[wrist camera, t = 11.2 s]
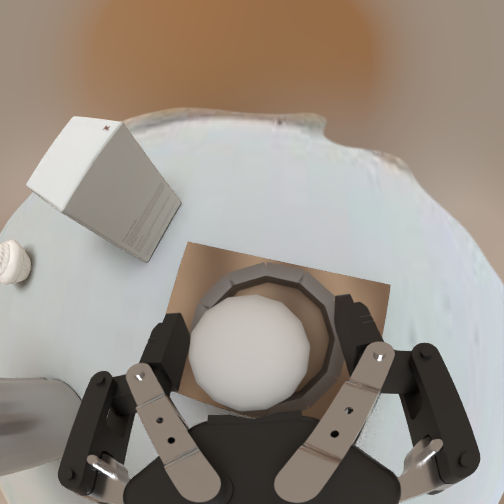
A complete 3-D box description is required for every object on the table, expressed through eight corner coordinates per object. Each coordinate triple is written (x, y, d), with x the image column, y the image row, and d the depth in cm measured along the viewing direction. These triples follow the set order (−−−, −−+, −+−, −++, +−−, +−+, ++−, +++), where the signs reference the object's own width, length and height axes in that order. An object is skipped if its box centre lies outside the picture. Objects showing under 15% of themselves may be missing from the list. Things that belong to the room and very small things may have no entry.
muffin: (18, 297, 26) (-18, 286, 20) (13, 261, 28) (-19, 247, 22) (40, 276, 27) (1, 261, 20) (35, 239, 29) (1, 221, 22)
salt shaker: (278, 392, 19) (269, 466, 7) (218, 354, 20) (132, 373, 8) (318, 331, 20) (368, 322, 8) (257, 294, 22) (220, 236, 9)
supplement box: (135, 183, 29) (74, 112, 17) (183, 202, 27) (125, 119, 15) (101, 238, 27) (23, 184, 15) (147, 266, 25) (60, 212, 13)
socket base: (156, 378, 22) (134, 384, 18) (193, 246, 25) (177, 231, 21) (350, 429, 18) (362, 444, 15) (384, 288, 22) (401, 278, 18)
